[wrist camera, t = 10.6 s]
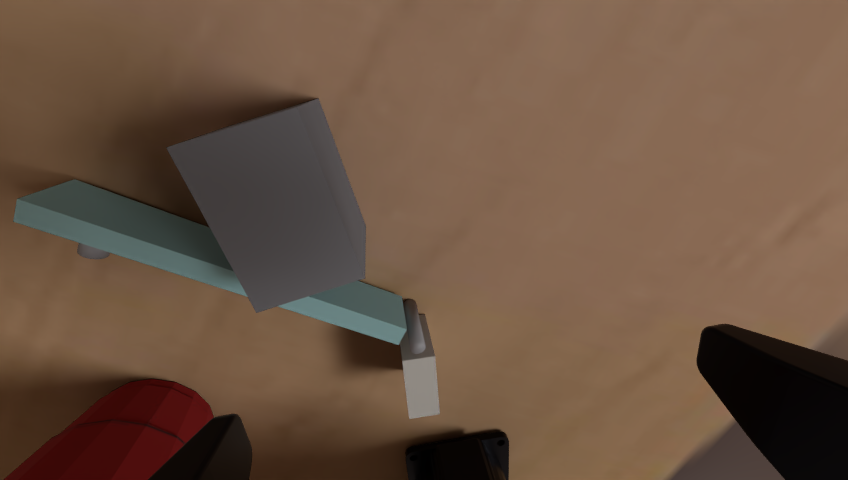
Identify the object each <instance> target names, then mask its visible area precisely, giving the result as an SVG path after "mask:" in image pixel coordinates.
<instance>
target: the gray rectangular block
mask: <svg viewBox="0 0 848 480" xmlns="http://www.w3.org/2000/svg"><path fill="white" fill-rule="evenodd" d="M166 148H167V150H168V152H169V154H170V156H171V157H172V159H173V161H174V163H175V165H176V167H177V168H178V170H179V172H180V174H181V176H182V178H183V179H184V181H185V183H186V185H187V187H188V188H189V190H190V192H191V194H192V196H193V198H194V199H195V201H196V203H197V205H198V207H199V209H200V210H201V212H202V214H203V216H204V218H205V220H206V221H207V223H208V225H209V227H210V229H211V231H212V232H213V234H214V236H215V238H216V240H217V242H218V243H219V245H220V247H221V249H222V251H223V253H224V254H225V256H226V258H227V260H228V262H229V263H230V265H231V267H232V269H233V271H234V273H235V274H236V276H237V278H238V280H239V282H240V284H241V285H242V287H243V289H244V291H245V293H246V295H247V296H248V298H249V300H250V302H251V304H252V306H253V307H254V309H255V311H256V313H257V312H261V311H264V310H267V309H270V308H273V307H276V306H280V305H283V304H286V303H289V302H292V301H295V300H298V299H302V298H305V297H308V296H311V295H314V294H317V293H321V292H324V291H327V290H330V289H333V288H336V287H339V286H343V285H346V284H349V283H352V282H355V281H358V280H362V279H365V243H366V225H365V223H364V220H363V217H362V214H361V212H360V209H359V206H358V204H357V201H356V198H355V196H354V193H353V190H352V188H351V185H350V182H349V179H348V177H347V174H346V171H345V169H344V166H343V163H342V161H341V158H340V155H339V152H338V150H337V147H336V144H335V142H334V139H333V136H332V134H331V131H330V128H329V125H328V123H327V120H326V117H325V115H324V112H323V109H322V107H321V104H320V101H319V98H318V99H315V100H311V101H308V102H305V103H302V104H299V105H295V106H292V107H289V108H286V109H282V110H279V111H276V112H273V113H270V114H266V115H263V116H260V117H257V118H253V119H250V120H247V121H244V122H241V123H237V124H234V125H231V126H228V127H225V128H222V129H219V130H216V131H213V132H210V133H207V134H204V135H201V136H198V137H195V138H193V139H190V140H187V141H184V142H181V143H178V144H175V145H172V146H169V147H166Z"/></svg>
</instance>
